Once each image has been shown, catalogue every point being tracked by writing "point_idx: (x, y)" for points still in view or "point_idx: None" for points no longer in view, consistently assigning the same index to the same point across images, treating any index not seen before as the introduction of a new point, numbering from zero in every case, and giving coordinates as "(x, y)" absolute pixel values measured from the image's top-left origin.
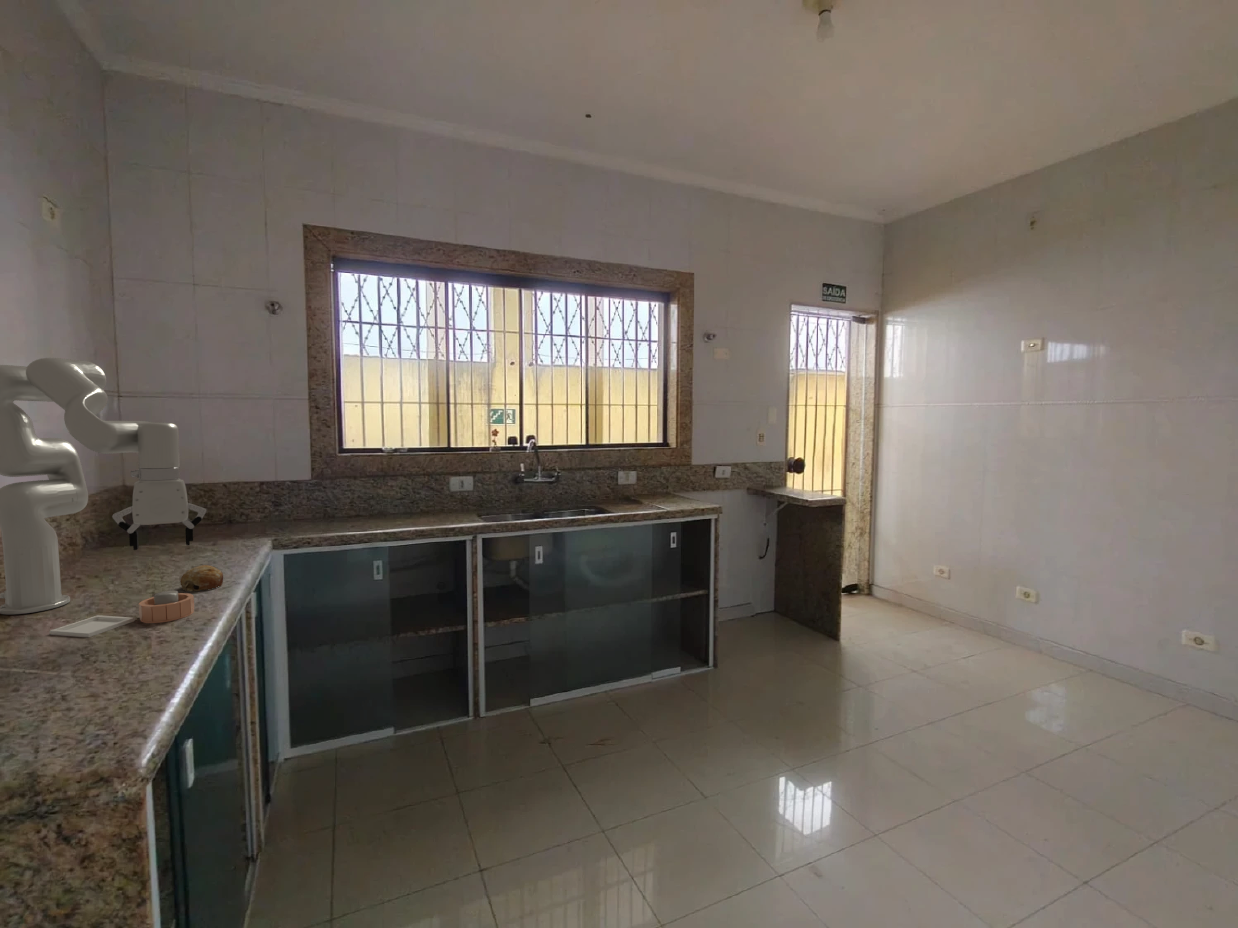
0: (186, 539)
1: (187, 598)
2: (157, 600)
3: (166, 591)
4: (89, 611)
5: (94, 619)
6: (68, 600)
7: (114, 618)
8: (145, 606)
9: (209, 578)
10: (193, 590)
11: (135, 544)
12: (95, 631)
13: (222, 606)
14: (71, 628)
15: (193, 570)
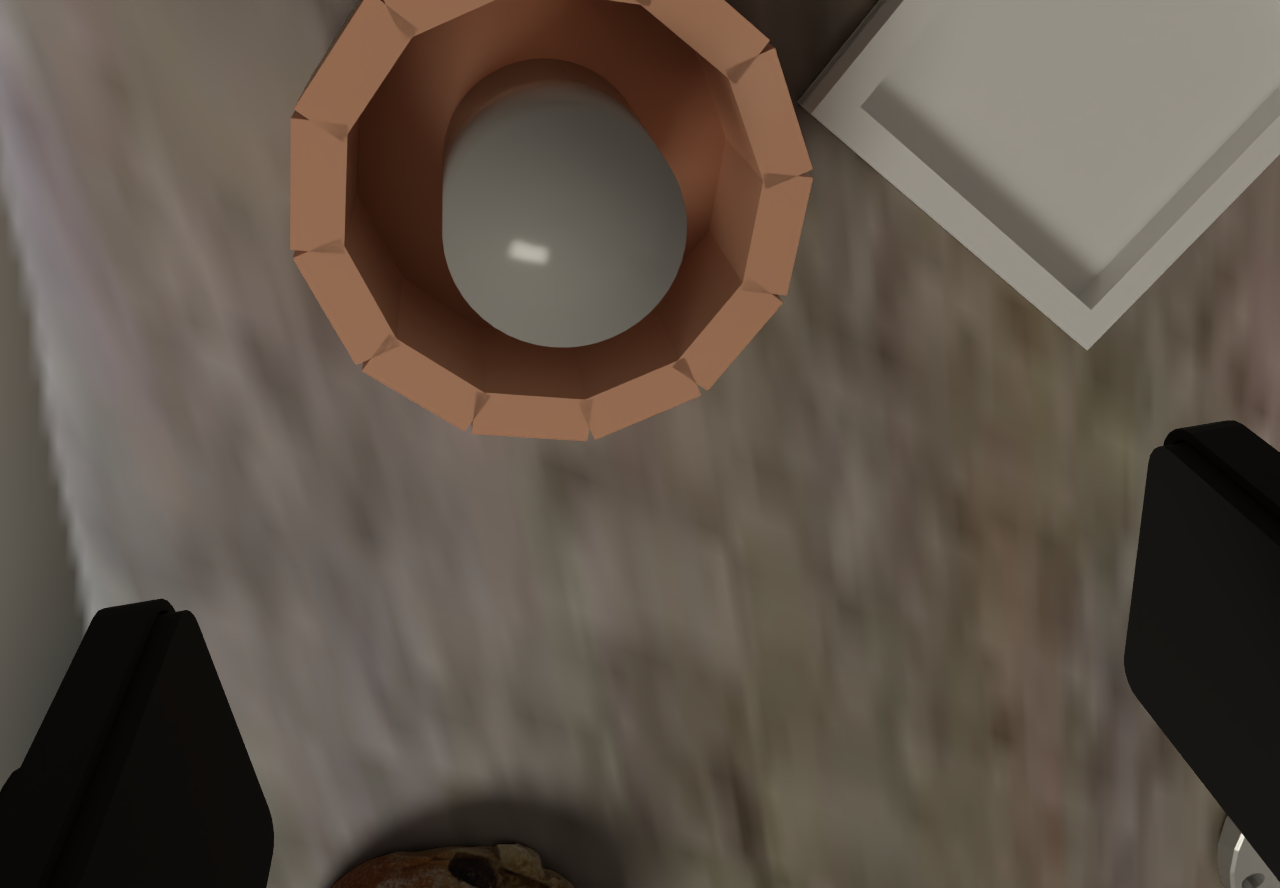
0: (130, 705)
1: (330, 151)
2: (632, 120)
3: (579, 329)
4: (1117, 593)
5: (1097, 284)
6: (1234, 827)
7: (964, 200)
8: (731, 8)
9: None
10: (493, 852)
11: (1269, 483)
12: None
13: (88, 307)
14: (1240, 121)
15: None
